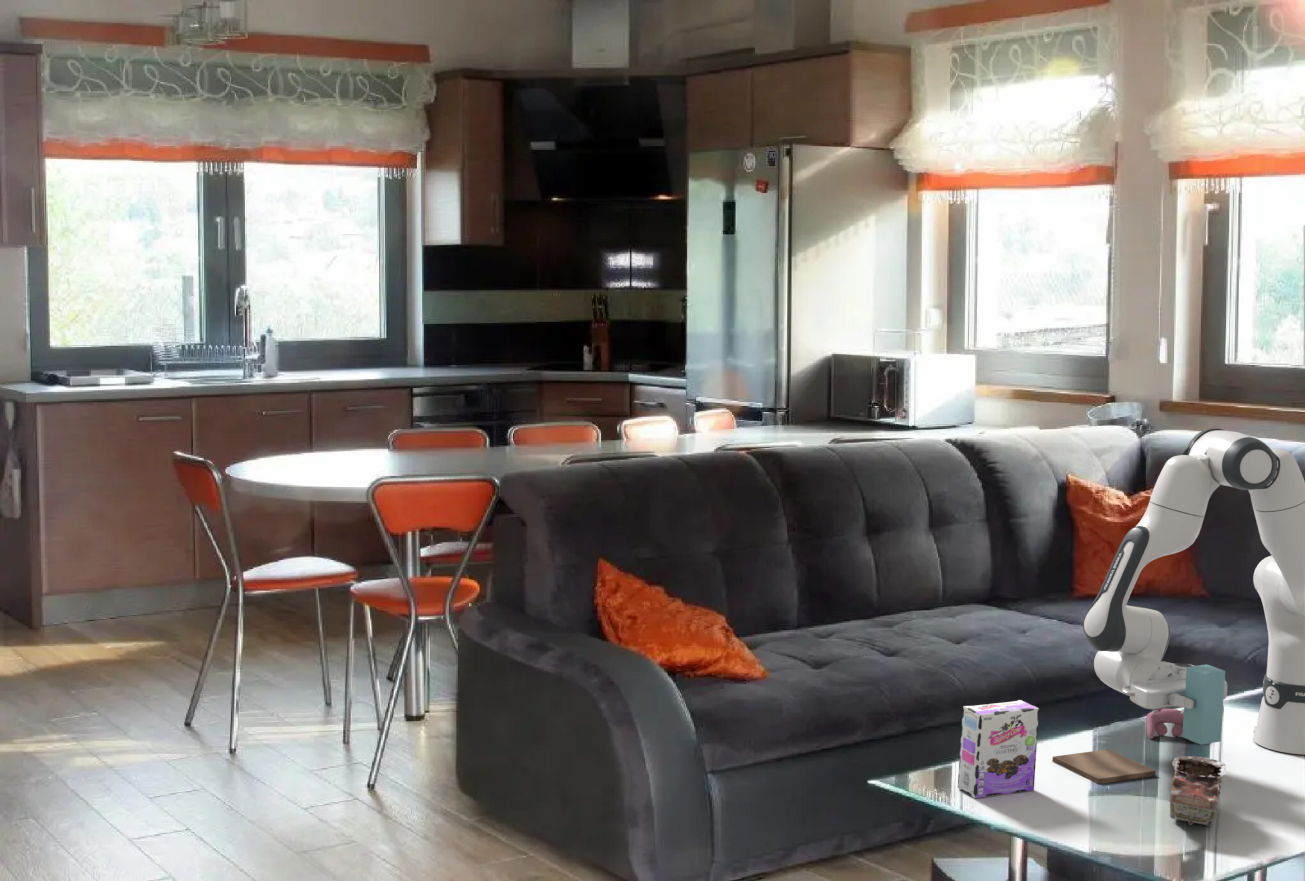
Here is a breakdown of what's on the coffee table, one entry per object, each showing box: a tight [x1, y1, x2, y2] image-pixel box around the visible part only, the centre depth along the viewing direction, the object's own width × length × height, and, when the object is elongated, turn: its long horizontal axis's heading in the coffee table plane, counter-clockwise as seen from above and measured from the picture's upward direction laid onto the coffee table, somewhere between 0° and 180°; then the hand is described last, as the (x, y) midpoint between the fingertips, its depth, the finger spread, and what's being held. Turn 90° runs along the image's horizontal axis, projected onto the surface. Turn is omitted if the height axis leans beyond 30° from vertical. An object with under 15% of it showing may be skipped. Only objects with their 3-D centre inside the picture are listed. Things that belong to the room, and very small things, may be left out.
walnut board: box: [1051, 748, 1156, 785], centre depth 332 cm, size 14×14×1 cm
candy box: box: [957, 699, 1040, 799], centre depth 317 cm, size 14×6×16 cm, turn 114°
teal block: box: [1181, 664, 1226, 745], centre depth 323 cm, size 5×5×14 cm
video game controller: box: [1145, 708, 1194, 743], centre depth 354 cm, size 10×5×7 cm, turn 84°
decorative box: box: [1168, 755, 1228, 827], centre depth 304 cm, size 13×20×10 cm, turn 153°
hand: (1207, 702), depth 322 cm, fingers closed on teal block, 5 cm apart
